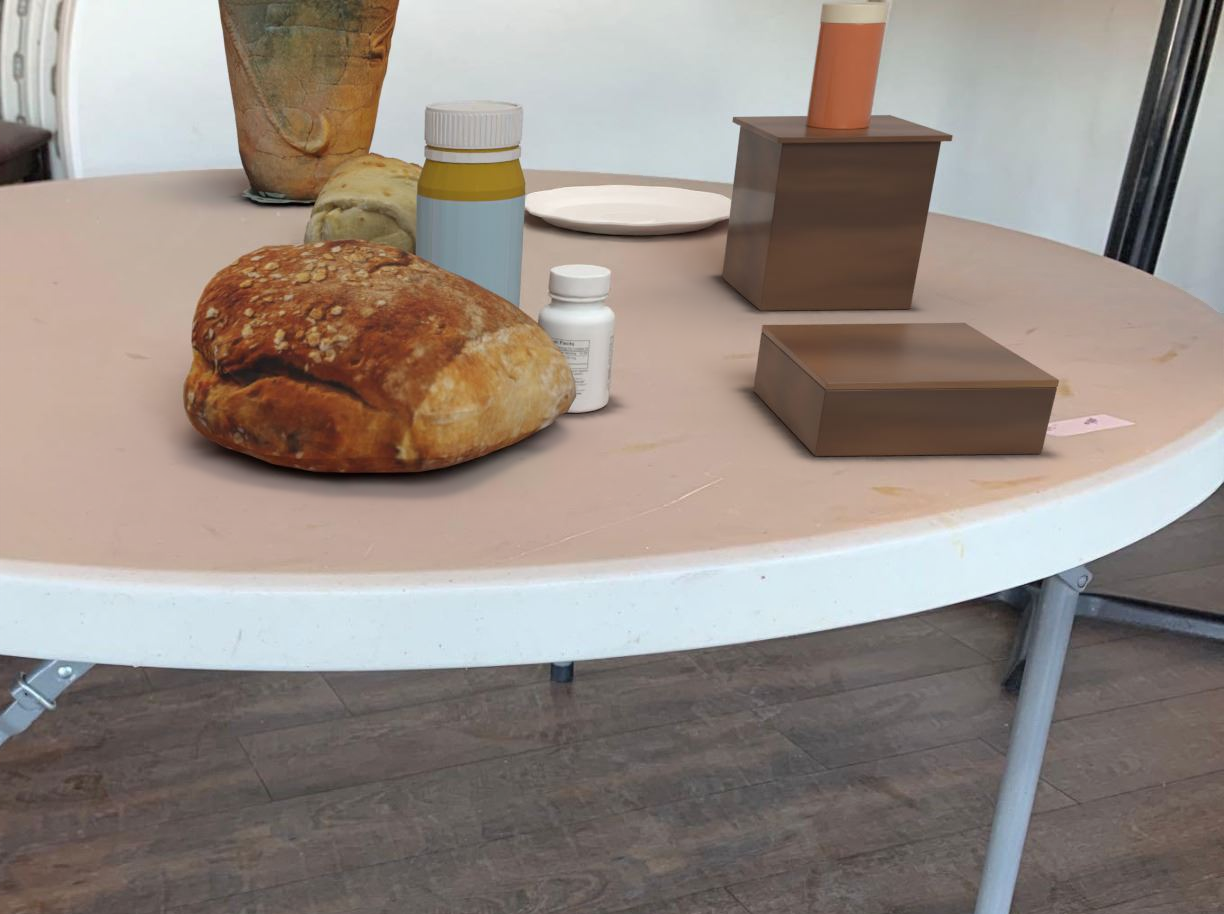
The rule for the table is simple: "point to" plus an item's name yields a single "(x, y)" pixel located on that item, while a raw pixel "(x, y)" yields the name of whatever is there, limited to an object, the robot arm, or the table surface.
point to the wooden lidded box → (902, 390)
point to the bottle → (473, 193)
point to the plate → (628, 209)
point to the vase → (304, 87)
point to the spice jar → (846, 64)
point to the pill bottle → (582, 329)
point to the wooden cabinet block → (829, 213)
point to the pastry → (368, 203)
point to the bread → (366, 362)
